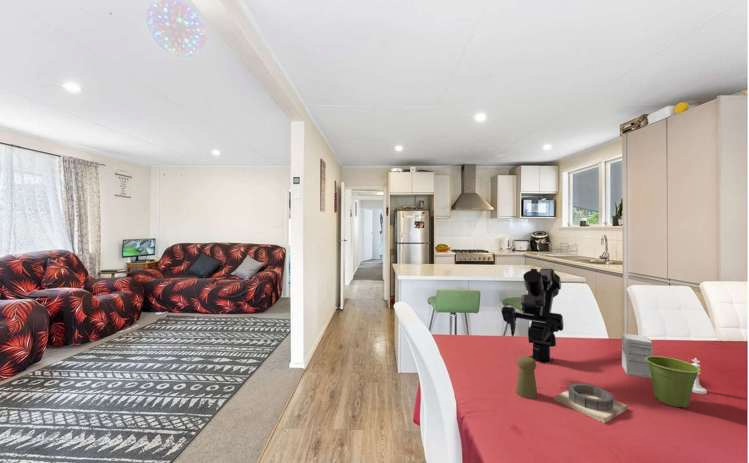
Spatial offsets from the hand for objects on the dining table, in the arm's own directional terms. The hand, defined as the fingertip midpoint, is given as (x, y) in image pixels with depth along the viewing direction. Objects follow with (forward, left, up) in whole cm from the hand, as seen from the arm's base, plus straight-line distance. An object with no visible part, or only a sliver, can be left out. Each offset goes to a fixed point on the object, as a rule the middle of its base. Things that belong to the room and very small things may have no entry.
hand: (527, 338), depth 105 cm
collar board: (-4, +17, -15) cm, 23 cm away
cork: (+6, +4, -15) cm, 17 cm away
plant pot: (-27, +28, -15) cm, 42 cm away
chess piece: (-43, +29, -15) cm, 54 cm away
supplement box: (-42, +14, -15) cm, 46 cm away
